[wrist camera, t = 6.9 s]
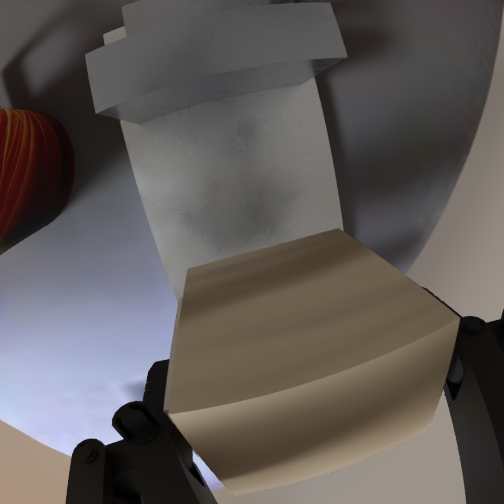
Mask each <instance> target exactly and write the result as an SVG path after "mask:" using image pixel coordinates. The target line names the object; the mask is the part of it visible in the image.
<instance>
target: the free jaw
mask: <svg viewBox="0 0 504 504" xmlns="http://www.w3.org/2000/svg"><path fill="white" fill-rule="evenodd" d="M298 2H299V0H139V1H137V2H134V3H131V4H128V5H125V6H122V13H123V19H124V25H125V31H126V37H125V38H122V39H120V40H117V41H115V42H112V43H110V44H107V45H105V46H102V47H100V48H98V49H96V50H93V51H91V52H89V53H87V54H85V58H86V65H87V71H88V77H89V82H90V88H91V93H92V98H93V103H94V108H95V112H96V114H100V115H104V116H108V117H112V118H116V119H120V120H123V121H127V122H131V123H135V124H137V123H139V122H142V121H145V120H148V119H151V118H154V117H157V116H160V115H163V114H167V113H170V112H173V111H176V110H180V109H183V108H187V107H190V106H194V105H198V104H202V103H205V102H209V101H213V100H218V99H222V98H226V97H231V96H235V95H240V94H245V93H250V92H255V91H260V90H266V89H272V88H278V87H284V86H291V85H298V84H303V83H305V82H306V81H308V80H310V79H311V78H313V77H315V76H316V75H318V74H320V73H321V72H323V71H325V70H326V69H328V68H330V67H331V66H333V65H335V64H337V63H338V62H340V61H342V60H344V59H346V58H347V57H348V56H347V53H346V49H345V46H344V43H343V39H342V36H341V33H340V30H339V27H338V24H337V21H336V18H335V15H334V12H333V9H332V7H331V4H330V3H325V2H310V3H298Z"/></svg>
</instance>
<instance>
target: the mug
mask: <svg viewBox="0 0 504 504" xmlns="http://www.w3.org/2000/svg"><path fill="white" fill-rule="evenodd" d="M74 169H75V168H74V155H73V150H72V146H71V142H70V140H69V137H68V135H67V133H66V131H65V130H64V128H63V127H62V125H61V124H60V123H59V122H58V121H57V120H56V119H55V118H53V117H52V116H50V115H48V114H46V113H42V112H38V111H29V110H20V109H9V108H1V107H0V255H1V254H3V253H4V252H6V251H7V250H9V249H10V248H12V247H13V246H15V245H16V244H18V243H19V242H21V241H22V240H24V239H25V238H27V237H29V236H30V235H32V234H33V233H35V232H37V231H38V230H40V229H42V228H43V227H45V226H47V225H48V224H49V223H51V222H52V221H54V220H55V218H56V217H57V216H58V215H59V214H60V213H61V211H62V210H63V208H64V206H65V205H66V203H67V200H68V198H69V196H70V193H71V189H72V185H73V180H74Z"/></svg>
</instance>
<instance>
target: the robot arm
mask: <svg viewBox="0 0 504 504" xmlns="http://www.w3.org/2000/svg"><path fill="white" fill-rule="evenodd" d="M420 287H421V286H420ZM422 288H423V289H424V290H426V291H427V292H428V293H430V294H431V295H432V296H433V297H435V298H436V299H437V300H439V301H440V302H441V303H442V304H444V305H445V306H446V307H447V308H449V309H450V310H451V311H452V312H454V313H455V314H456V315H457V316H458V317H460V322H459V327H458V332H457V337H456V341H455V346H454V350H453V354H452V358H451V362H450V366H449V369H448V373H447V377H446V380H445V383H444V387H443V389H444V392H445V396H446V400H447V403H448V407H449V411H450V415H451V418H452V423H453V427H454V431H455V436H456V440H457V445H458V450H459V455H460V461H461V467H462V473H463V479H464V487H465V495H466V504H504V310H503V313H502V316H501V319H499V320H495V321H491V322H488V323H486V322H485V321H484V320H482V319H480V318H478V317H474V316H466V317H462V316H460V315H459V314H458V313H457V312H456V311H454V310H453V309H452V308H451V307H449V306H448V305H447V304H446V303H444V302H443V301H441V300H440V299H439V298H438V297H437V296H434V294H433V293H432V292H430V291H429V290H428V289H426V288H424V287H422ZM182 299H183V297H180V298H179V302H178V308H177V314H176V320H175V326H174V333H173V339H172V346H171V353H170V359H167V360H162V361H157V362H155V363H154V364H153V366H152V367H151V368H150V370H149V371H148V376H147V381H146V382H147V384H146V386H145V392H144V396H143V401H134V402H130V403H127V404H125V405H123V406H122V407H120V408H119V409H118V410H117V411H116V412H115V414H114V416H113V418H112V426H113V427H114V428H115V430H116V431H117V432H118V433H119V434H120V435H121V436H122V437H123V438H124V439H123V440H120V441H117V442H114V443H111V444H108V445H104V444H103V443H102V442H101V441H99V440H97V439H91V438H90V439H87V440H84V441H82V442H81V443H79V444H78V445H77V446H76V448H75V449H74V451H73V454H72V458H71V465H70V471H69V479H68V486H67V495H66V504H218V503H217V501H216V500H215V498H214V496H213V494H212V493H211V491H210V489H209V487H208V485H207V484H206V482H205V480H204V478H203V476H202V474H201V472H200V471H199V469H198V467H197V465H196V464H195V463H194V462H193V451H194V452H195V453H196V451H195V450H194V449H193V448H192V446H191V445H190V444H189V442H188V441H187V440H186V438H185V437H184V436H183V434H182V433H181V432H180V430H179V429H178V428H177V426H176V425H175V423H174V422H173V421H172V419H171V418H170V416H169V415H168V412H169V401H170V392H171V382H172V373H173V364H174V356H175V348H176V341H177V333H178V326H179V319H180V312H181V305H182ZM442 391H443V390H442ZM441 394H442V393H441ZM440 397H441V396H440ZM192 450H193V451H192ZM196 455H197V456H198V457H200V456H199V455H198V454H197V453H196Z"/></svg>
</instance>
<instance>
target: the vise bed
mask: <svg viewBox="0 0 504 504" xmlns="http://www.w3.org/2000/svg"><path fill="white" fill-rule="evenodd" d="M103 37H104V43H105V45H107V44H110V43H112V42H115V41H117V40H120V39H122V38H125V37H126V31H125V26H123V27H121V28H118V29H115V30H113V31H110V32H108V33H106V34H103ZM120 123H121V127H122V131H123V135H124V139H125V143H126V147H127V151H128V154H129V158H130V162H131V165H132V169H133V172H134V176H135V179H136V183H137V186H138V189H139V193H140V196H141V199H142V203H143V206H144V209H145V212H146V215H147V218H148V221H149V224H150V227H151V230H152V233H153V236H154V239H155V242H156V245H157V248H158V251H159V253H160V256H161V259H162V262H163V265H164V267H165V270H166V273H167V275H168V278H169V281H170V283H171V286H172V288H173V291H174V294H175V296H176V299H177V301H178V302H179V298H180V297H183V292H184V286H185V280H186V274H187V269H188V268H192V267H196V266H199V265H203V264H207V263H210V262H214V261H218V260H222V259H225V258H229V257H233V256H236V255H240V254H244V253H247V252H251V251H255V250H259V249H262V248H266V247H270V246H273V245H277V244H281V243H285V242H288V241H292V240H296V239H299V238H303V237H307V236H311V235H314V234H318V233H322V232H325V231H329V230H333V229H337V228H339V229H341V230H342V231H344V230H343V222H342V215H341V208H340V201H339V195H338V188H337V182H336V176H335V170H334V165H333V159H332V154H331V149H330V144H329V139H328V134H327V129H326V124H325V120H324V115H323V111H322V106H321V102H320V98H319V94H318V90H317V86H316V82H315V78H314V77H313V78H311V79H310V80H308V81H306V82H305V83H303V84H298V85H291V86H284V87H278V88H272V89H266V90H260V91H255V92H250V93H245V94H240V95H235V96H231V97H226V98H222V99H218V100H213V101H209V102H205V103H202V104H198V105H194V106H190V107H187V108H183V109H180V110H176V111H173V112H170V113H167V114H163V115H160V116H157V117H154V118H151V119H148V120H145V121H142V122H139V123H137V124H135V123H131V122H127V121H123V120H120Z"/></svg>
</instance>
